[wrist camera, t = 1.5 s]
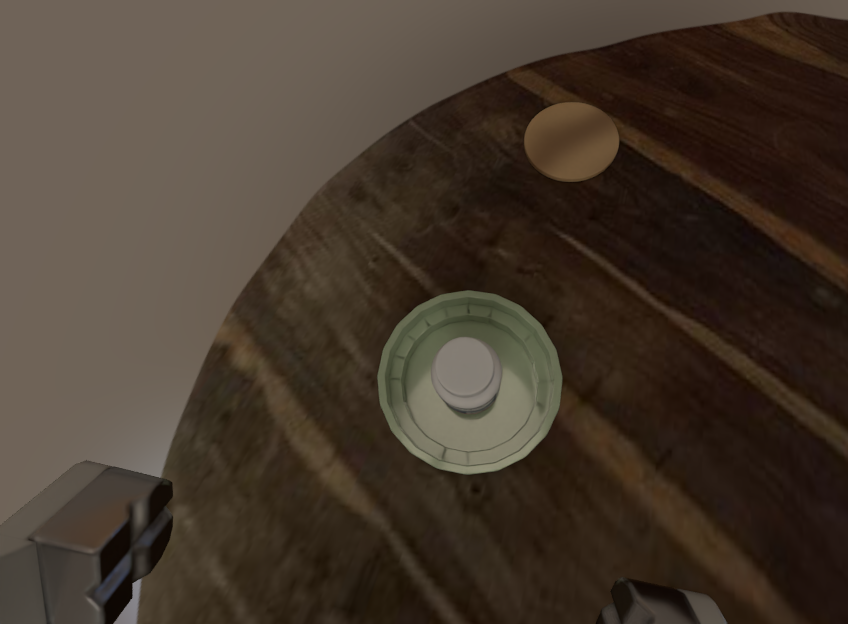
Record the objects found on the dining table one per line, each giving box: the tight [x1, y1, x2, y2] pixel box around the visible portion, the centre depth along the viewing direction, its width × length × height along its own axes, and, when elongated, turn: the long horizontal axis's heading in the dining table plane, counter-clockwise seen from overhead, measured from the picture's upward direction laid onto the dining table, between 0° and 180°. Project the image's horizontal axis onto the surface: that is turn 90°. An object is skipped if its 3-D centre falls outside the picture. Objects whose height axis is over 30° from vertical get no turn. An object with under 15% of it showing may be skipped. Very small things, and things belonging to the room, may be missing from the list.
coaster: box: [524, 102, 619, 182], centre depth 44 cm, size 9×9×1 cm
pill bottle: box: [431, 337, 502, 414], centre depth 34 cm, size 5×5×9 cm
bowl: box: [377, 290, 562, 475], centre depth 37 cm, size 14×14×4 cm
